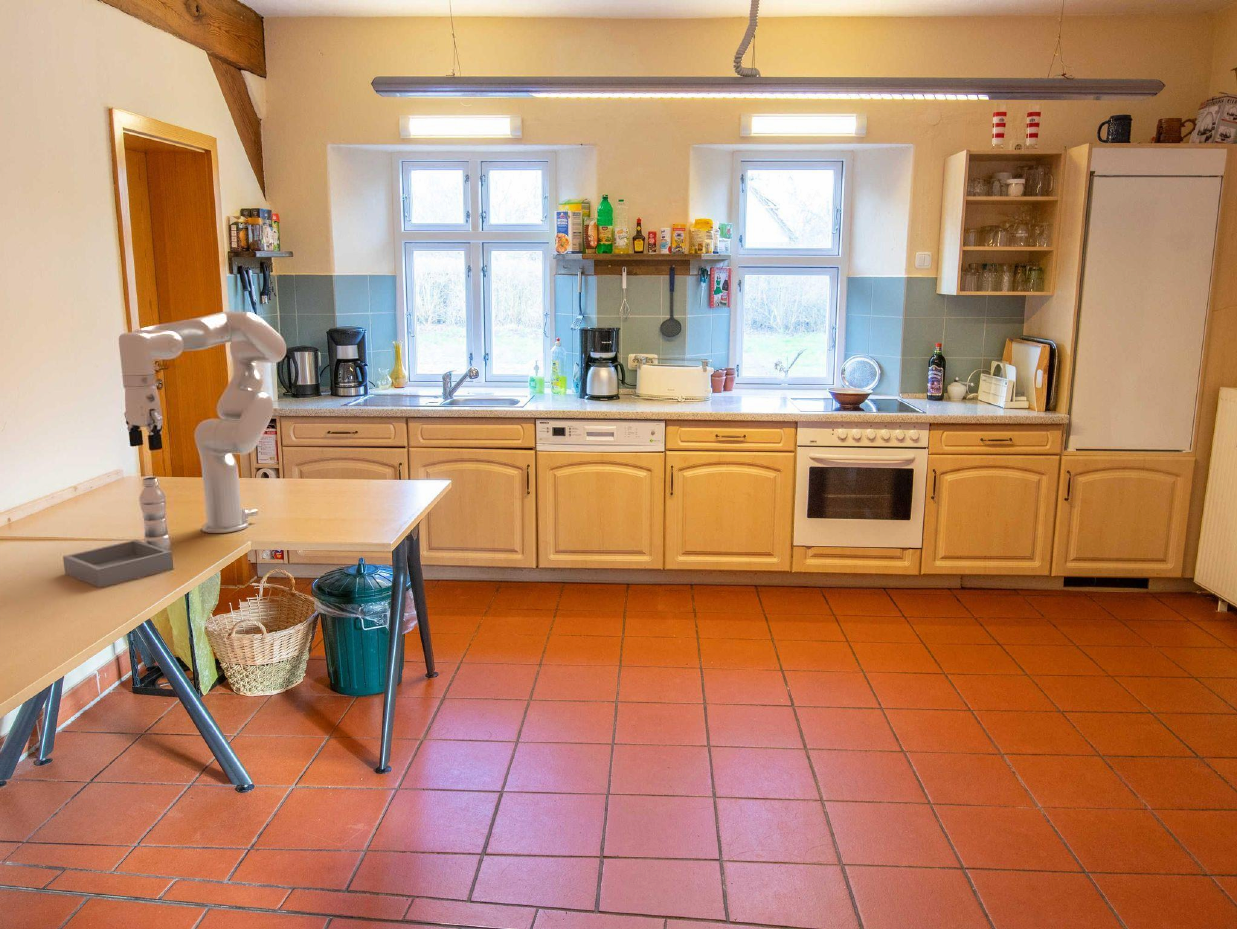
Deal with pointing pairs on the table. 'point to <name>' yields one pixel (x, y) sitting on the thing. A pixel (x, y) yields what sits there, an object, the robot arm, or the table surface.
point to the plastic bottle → (154, 514)
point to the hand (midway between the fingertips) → (146, 447)
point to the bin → (117, 563)
